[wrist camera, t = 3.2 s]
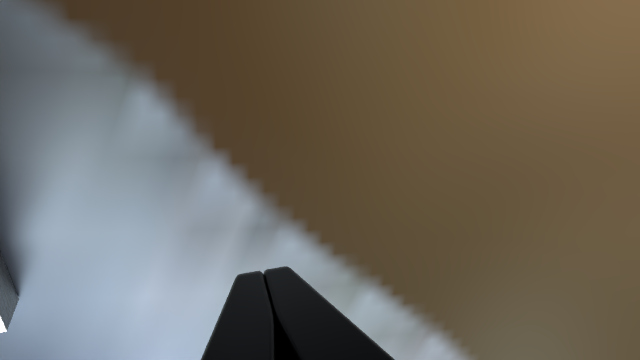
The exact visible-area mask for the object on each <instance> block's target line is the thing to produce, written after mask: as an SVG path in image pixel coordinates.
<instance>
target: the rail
mask: <svg viewBox="0 0 640 360" xmlns="http://www.w3.org/2000/svg"><path fill="white" fill-rule="evenodd" d="M18 301H19V298H18V295H17V293H16V290H15V288H14V285H13V283H12V280H11V277H10V275H9V272H8V270H7V267H6V264H5V262H4V259H3V257H2V254H1V252H0V333H1V332H7V329H8V327H9V324H10V321H11V319H12V316H13V314H14V311H15V308H16V306H17V303H18Z"/></svg>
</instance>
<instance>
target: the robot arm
mask: <svg viewBox="0 0 640 360" xmlns="http://www.w3.org/2000/svg"><path fill="white" fill-rule="evenodd" d="M201 360H394V359H393V358H392V357H391V356H390V355H389V354H388V353H387V352H385V351H384V350H383V349H382V348H381V347H380V346H379V345H377V344H376V343H375V342H374V341H373V340H372V339H371V338H369V337H368V336H367V335H366V334H365V333H364V332H363V331H361V330H360V329H359V328H358V327H357V326H356V325H355V324H353V323H352V322H351V321H350V320H349V319H348V318H347V317H345V316H344V315H343V314H342V313H341V312H340V311H339V310H337V309H336V308H335V307H334V306H333V305H332V304H331V303H329V302H328V301H327V300H326V299H325V298H324V297H323V296H322V295H320V294H319V293H318V292H317V291H316V290H315V289H314V288H312V287H311V286H310V285H309V284H308V283H307V282H306V281H304V280H303V279H302V278H301V277H300V276H299V275H298V274H296V273H295V272H294V271H293V270H292V269H291V268H289V267H279V268H273V269H267V270H265V271H264V275H263V273H262V272H260V271H255V272H249V273H243V274H239V275H238V276H237V277H236V279H235V281H234V283H233V285H232V288H231V290H230V292H229V295H228V297H227V300H226V302H225V304H224V307H223V309H222V311H221V314H220V316H219V318H218V321H217V323H216V325H215V328H214V330H213V332H212V335H211V337H210V339H209V342H208V344H207V346H206V349H205V351H204V353H203V356H202V358H201Z"/></svg>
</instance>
